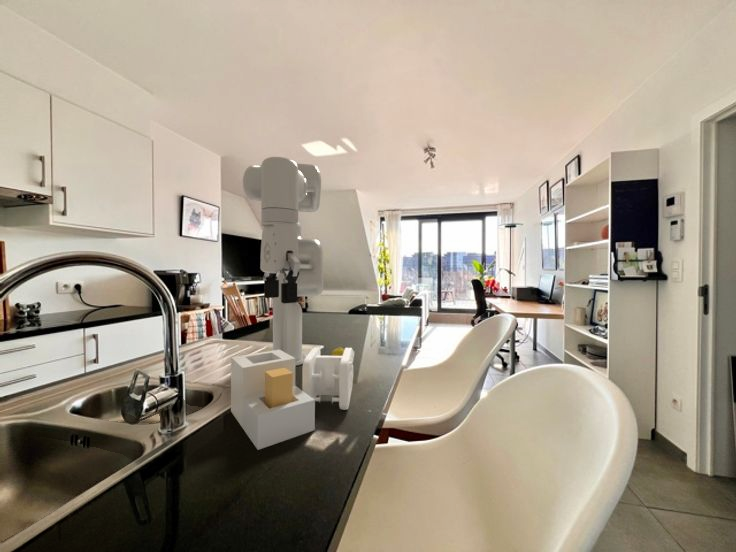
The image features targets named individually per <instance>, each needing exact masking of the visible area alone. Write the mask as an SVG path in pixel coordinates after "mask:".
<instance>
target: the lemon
mask: <svg viewBox="0 0 736 552" xmlns="http://www.w3.org/2000/svg"><path fill="white" fill-rule="evenodd" d="M344 350H345V348H342V347H341V346H338V347H337V348H335V349H334V350H332V352H331V354H330V356H342V355H343V353H344Z"/></svg>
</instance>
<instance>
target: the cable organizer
mask: <svg viewBox="0 0 736 552" xmlns="http://www.w3.org/2000/svg"><path fill="white" fill-rule="evenodd" d="M354 359H355V351H354V350H353V347H345V348H344V353H343V355H342V356H331V355H321V348H320V347H316V346H315V347H313V348H312V349H311V350H310V351H309V353H308V354H307V355H306V358H305V359H304V362H303V364H302V369H301V370H302V371H301V373H302V376H301V377H302V378H301V379H302V380H301V382H302V383H301V386H302V387H301V388H302V389H301V390H302V391H303V392H305V393H306V394H308V395H309V396H310V397H312V398H313V399H314V400H315V402H321V398H322V397H321V396H332V397H331V404H332V406H333V403H334V402H335V403H336V402H338V408H339V410H343V411H345V410H348V409H349V408H350V407H349V406H350V401H351V397H352V391H353V385H354V384H353V381H354ZM317 396H319V397H317ZM335 396H338V397H335Z"/></svg>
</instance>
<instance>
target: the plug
mask: <svg viewBox="0 0 736 552" xmlns="http://www.w3.org/2000/svg"><path fill="white" fill-rule="evenodd" d="M292 402H293V373H292V372H290V371H289V370H287V369H286V368H280V369H275V370H270V371H265V405H266V406H267V407H268V408H269V409H270V408H274V407H277V406H281V405H284V404H288V403H292Z"/></svg>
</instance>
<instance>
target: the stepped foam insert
mask: <svg viewBox="0 0 736 552" xmlns="http://www.w3.org/2000/svg"><path fill="white" fill-rule="evenodd" d="M280 368H286V369H287V370H289V371H290V372H292V373H293V402H292V403H288V404H284V405H281V406H277V407H274V408H270V409H269V408H268V407H267V406H266V405H265V371H270V370H275V369H280ZM230 412H231V414H232V415H233V416H234V418H235V420H236V421H237V422H238V423H239V425H240V426H241V428H242V429H243V430H244V432H245V434H246V435H247V437H248V438H249V439H250V441H251V442H252V443H253V445H254V447H255V448H256V449H257V451H259V450H262V449H264V448H267V447H270V446H271V447H272V446H274V445H276V444H279V443H282V442H284V441H287V440H291V439H294V438H296V437H300V436H302V435H305V434H308V433H311V432H313V431H315V429H316V426H315V421H316V418H315V416H316V415H315V414H316V413H315V412H316V401H315V400H314V399H313V398H312V397H310V396H309V395H308V394H306V393H305V392H303V391H302V389H300V388H299V387H298V386H296V366H295V358H294V357H292V356H290V355H288V354H287V353H285V352H283V351H281V350H274V351H273V350H269V351H262V352H256V353H248V354H244V355H243V354H242V355H238V356H236V355H235V356H231V357H230Z"/></svg>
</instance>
